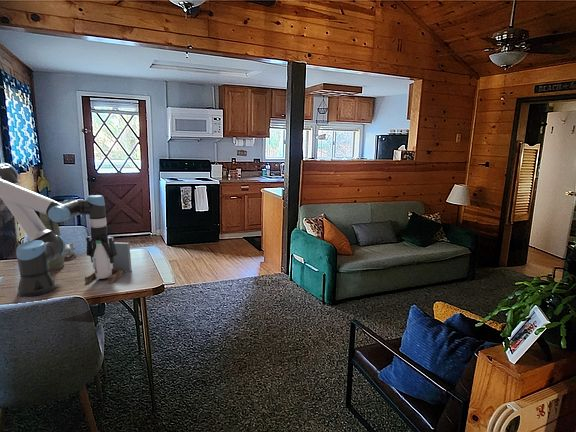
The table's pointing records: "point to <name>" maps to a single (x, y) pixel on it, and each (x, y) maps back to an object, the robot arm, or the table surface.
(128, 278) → the table surface
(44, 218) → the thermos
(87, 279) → the notch cradle
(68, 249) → the gray elephant figurine
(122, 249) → the wall panel
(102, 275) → the milk bottle
